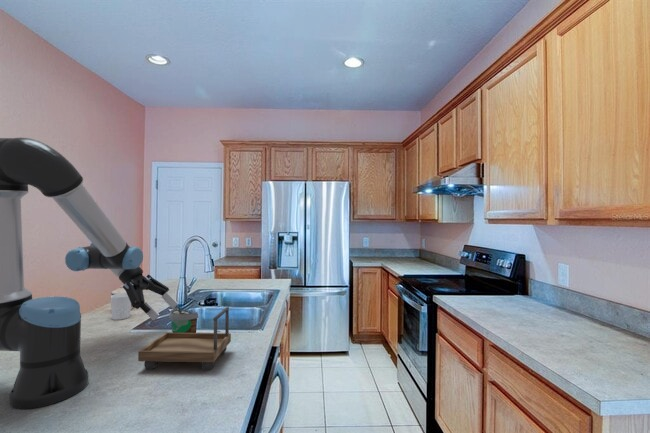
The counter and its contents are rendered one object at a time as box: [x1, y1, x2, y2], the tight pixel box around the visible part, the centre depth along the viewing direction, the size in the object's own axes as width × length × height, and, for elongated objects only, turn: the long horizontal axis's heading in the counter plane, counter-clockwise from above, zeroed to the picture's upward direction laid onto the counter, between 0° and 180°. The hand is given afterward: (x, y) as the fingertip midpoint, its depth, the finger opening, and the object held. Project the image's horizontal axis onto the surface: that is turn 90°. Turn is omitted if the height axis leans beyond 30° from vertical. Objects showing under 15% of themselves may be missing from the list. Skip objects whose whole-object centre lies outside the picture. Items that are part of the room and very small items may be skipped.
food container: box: [168, 307, 200, 333], centre depth 115 cm, size 12×6×10 cm, turn 62°
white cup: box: [110, 293, 131, 321], centre depth 139 cm, size 8×8×10 cm
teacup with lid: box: [110, 284, 136, 311], centre depth 151 cm, size 12×9×12 cm
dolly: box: [137, 306, 232, 372], centre depth 97 cm, size 15×22×15 cm
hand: (166, 311), depth 117 cm, fingers open, 13 cm apart
